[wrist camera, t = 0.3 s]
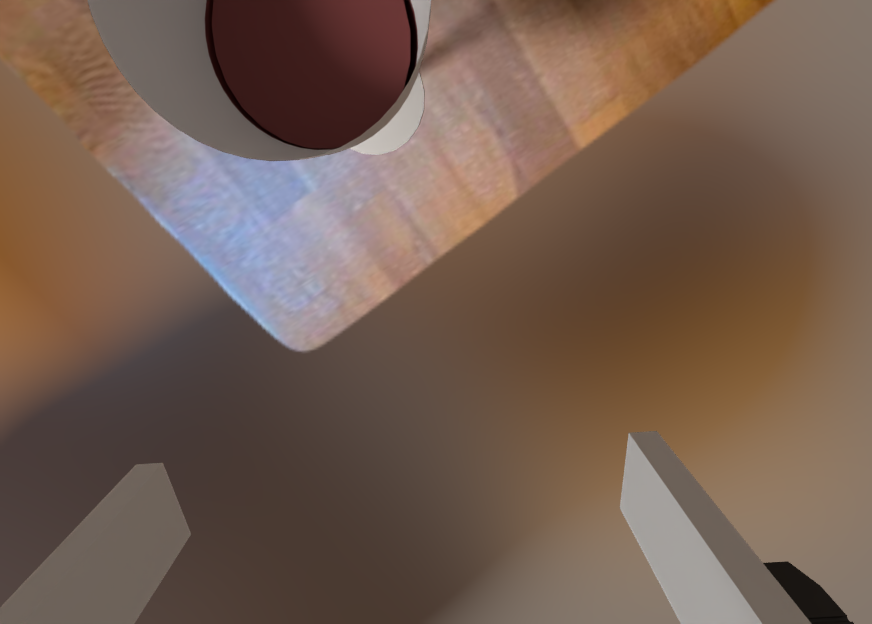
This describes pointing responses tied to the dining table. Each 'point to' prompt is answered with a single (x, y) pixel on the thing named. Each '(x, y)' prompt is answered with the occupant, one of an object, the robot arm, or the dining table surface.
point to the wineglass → (275, 70)
